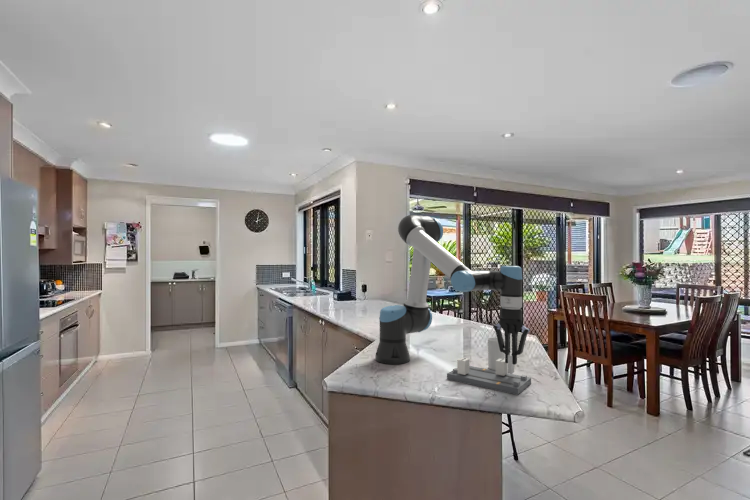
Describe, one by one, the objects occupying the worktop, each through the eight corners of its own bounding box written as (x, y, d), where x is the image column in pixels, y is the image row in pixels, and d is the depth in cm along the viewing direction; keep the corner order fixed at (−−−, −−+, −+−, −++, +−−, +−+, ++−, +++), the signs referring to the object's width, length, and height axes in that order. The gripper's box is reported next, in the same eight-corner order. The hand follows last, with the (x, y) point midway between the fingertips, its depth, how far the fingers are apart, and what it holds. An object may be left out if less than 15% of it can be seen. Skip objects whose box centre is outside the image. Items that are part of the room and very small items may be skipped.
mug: (505, 371, 150) (505, 341, 150) (487, 370, 152) (487, 340, 152) (504, 365, 160) (504, 336, 160) (488, 363, 162) (488, 335, 162)
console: (446, 378, 140) (446, 370, 141) (464, 369, 152) (464, 361, 152) (517, 394, 124) (517, 385, 125) (531, 383, 136) (531, 374, 136)
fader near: (457, 373, 140) (457, 359, 140) (462, 370, 143) (462, 357, 143) (464, 374, 138) (464, 360, 138) (469, 372, 141) (469, 358, 141)
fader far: (495, 374, 139) (495, 360, 139) (499, 371, 142) (499, 358, 142) (503, 375, 137) (503, 361, 137) (507, 373, 140) (507, 359, 140)
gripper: (490, 307, 139) (489, 371, 138) (526, 310, 131) (526, 378, 130) (497, 305, 145) (497, 366, 144) (532, 308, 137) (532, 373, 136)
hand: (511, 372), depth 137 cm, fingers closed
